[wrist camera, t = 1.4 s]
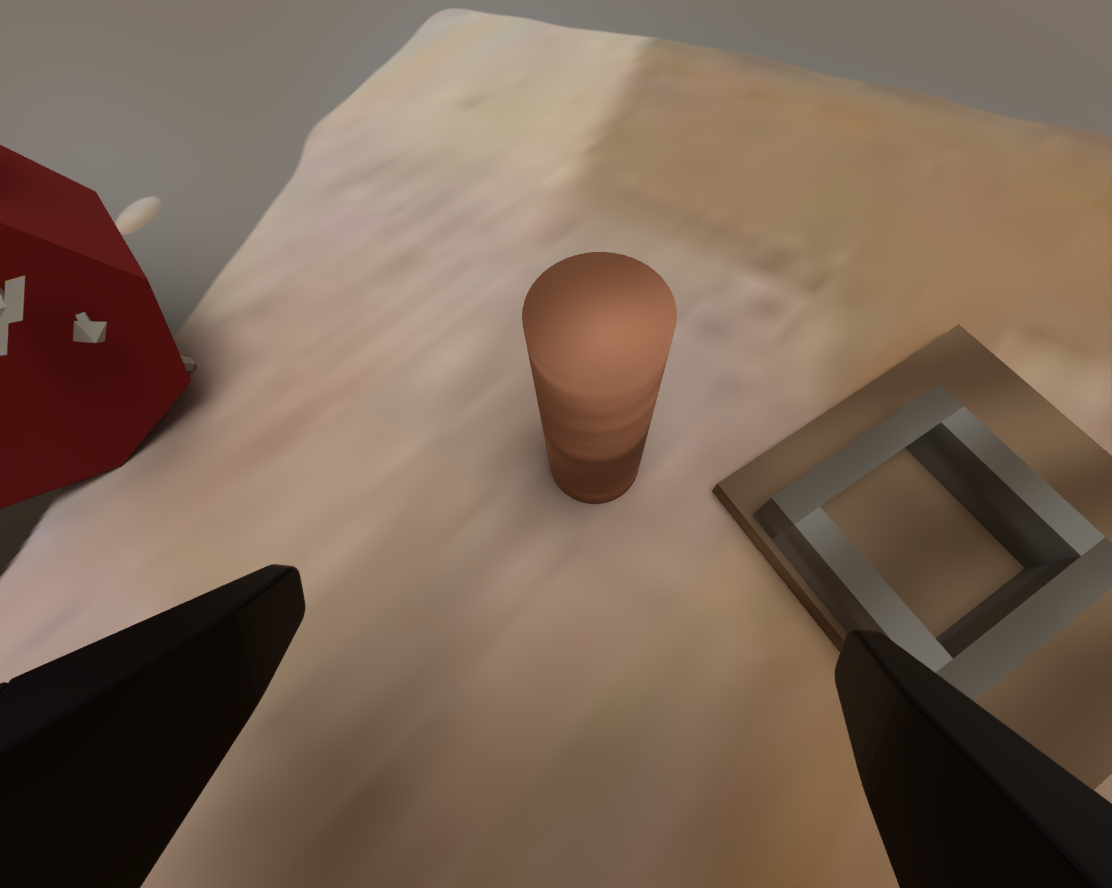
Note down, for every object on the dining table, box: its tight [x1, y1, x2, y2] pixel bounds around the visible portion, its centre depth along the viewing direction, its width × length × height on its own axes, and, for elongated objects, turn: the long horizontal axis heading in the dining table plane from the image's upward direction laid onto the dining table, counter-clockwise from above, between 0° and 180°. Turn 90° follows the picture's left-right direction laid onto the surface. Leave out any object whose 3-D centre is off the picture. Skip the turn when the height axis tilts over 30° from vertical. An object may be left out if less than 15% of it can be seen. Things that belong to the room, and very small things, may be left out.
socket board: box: [713, 324, 1112, 790], centre depth 20 cm, size 15×14×4 cm
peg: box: [522, 252, 677, 504], centre depth 19 cm, size 4×4×11 cm
